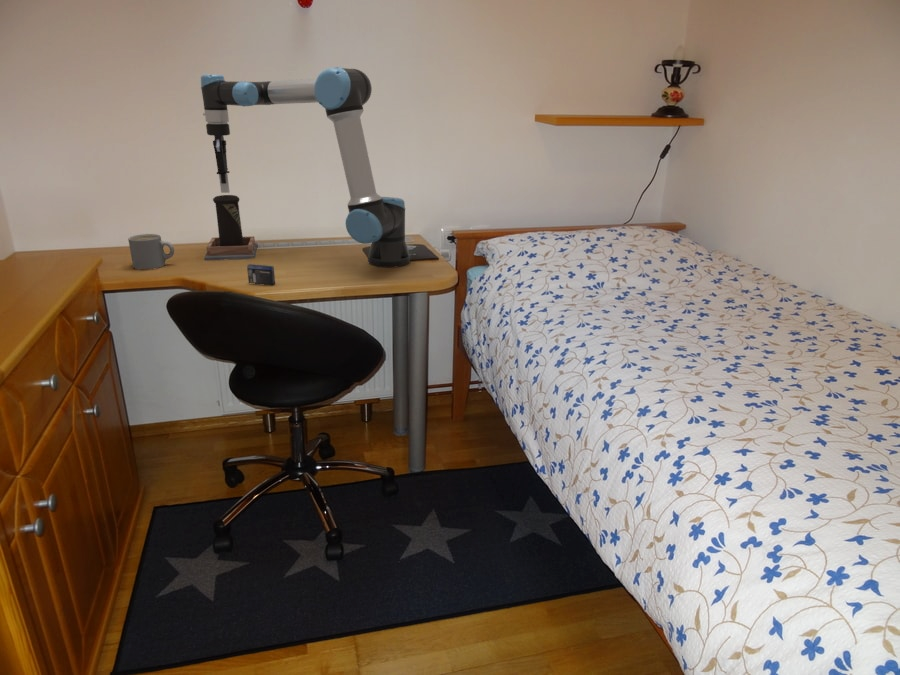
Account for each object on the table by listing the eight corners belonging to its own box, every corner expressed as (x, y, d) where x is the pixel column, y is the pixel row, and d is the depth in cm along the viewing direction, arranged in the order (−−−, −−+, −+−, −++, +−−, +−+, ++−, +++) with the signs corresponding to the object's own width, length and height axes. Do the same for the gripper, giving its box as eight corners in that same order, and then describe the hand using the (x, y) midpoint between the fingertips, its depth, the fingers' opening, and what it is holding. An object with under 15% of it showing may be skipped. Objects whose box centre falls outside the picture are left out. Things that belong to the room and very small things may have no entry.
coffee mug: (128, 270, 206) (123, 240, 203) (140, 262, 216) (135, 233, 212) (169, 270, 208) (165, 240, 204) (179, 262, 217) (175, 233, 213)
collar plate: (254, 258, 223) (253, 247, 221) (204, 260, 219) (203, 249, 218) (257, 245, 241) (256, 235, 239) (211, 246, 237) (210, 236, 236)
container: (240, 253, 226) (234, 197, 218) (215, 252, 226) (208, 197, 218) (248, 247, 234) (242, 193, 226) (224, 246, 234) (217, 193, 226)
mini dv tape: (248, 283, 196) (246, 265, 193) (251, 282, 197) (249, 264, 195) (273, 285, 195) (271, 267, 192) (275, 284, 196) (273, 265, 194)
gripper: (208, 121, 218) (216, 189, 227) (203, 124, 206) (211, 195, 215) (230, 121, 219) (237, 189, 228) (226, 124, 207) (234, 195, 217)
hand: (225, 192), depth 222 cm, fingers closed
